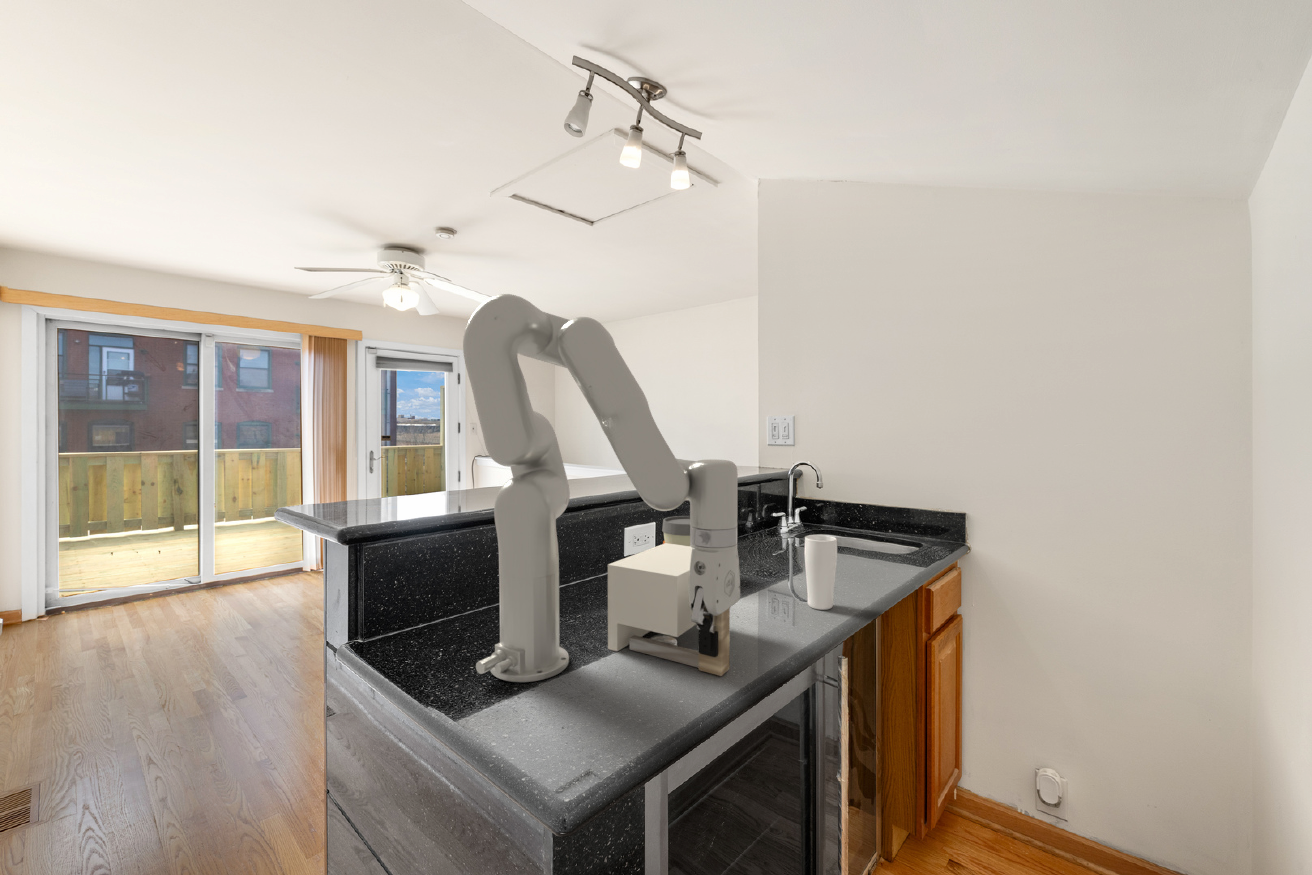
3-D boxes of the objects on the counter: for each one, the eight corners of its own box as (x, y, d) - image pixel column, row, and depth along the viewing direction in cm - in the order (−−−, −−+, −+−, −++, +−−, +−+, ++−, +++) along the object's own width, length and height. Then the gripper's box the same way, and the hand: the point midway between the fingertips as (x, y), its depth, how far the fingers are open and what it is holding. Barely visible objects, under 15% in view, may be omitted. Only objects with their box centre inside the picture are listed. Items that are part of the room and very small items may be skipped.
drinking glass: (808, 599, 124) (809, 533, 124) (839, 604, 121) (840, 536, 120) (800, 608, 118) (800, 538, 118) (832, 614, 115) (833, 542, 114)
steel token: (668, 657, 94) (668, 649, 94) (643, 651, 97) (643, 643, 97) (681, 647, 99) (681, 639, 99) (657, 641, 101) (657, 633, 101)
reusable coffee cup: (697, 588, 132) (697, 526, 132) (652, 580, 139) (652, 521, 139) (719, 575, 143) (719, 518, 143) (677, 569, 150) (677, 514, 149)
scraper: (721, 676, 86) (721, 606, 86) (627, 650, 96) (626, 588, 95) (729, 668, 89) (729, 601, 88) (636, 644, 98) (636, 583, 98)
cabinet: (678, 667, 90) (678, 576, 89) (607, 648, 97) (607, 564, 97) (728, 628, 107) (728, 551, 106) (665, 614, 114) (665, 543, 114)
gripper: (712, 550, 79) (712, 676, 80) (754, 530, 93) (754, 638, 94) (667, 544, 83) (667, 664, 84) (714, 526, 97) (714, 629, 97)
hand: (713, 649), depth 89 cm, fingers closed on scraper, 3 cm apart
